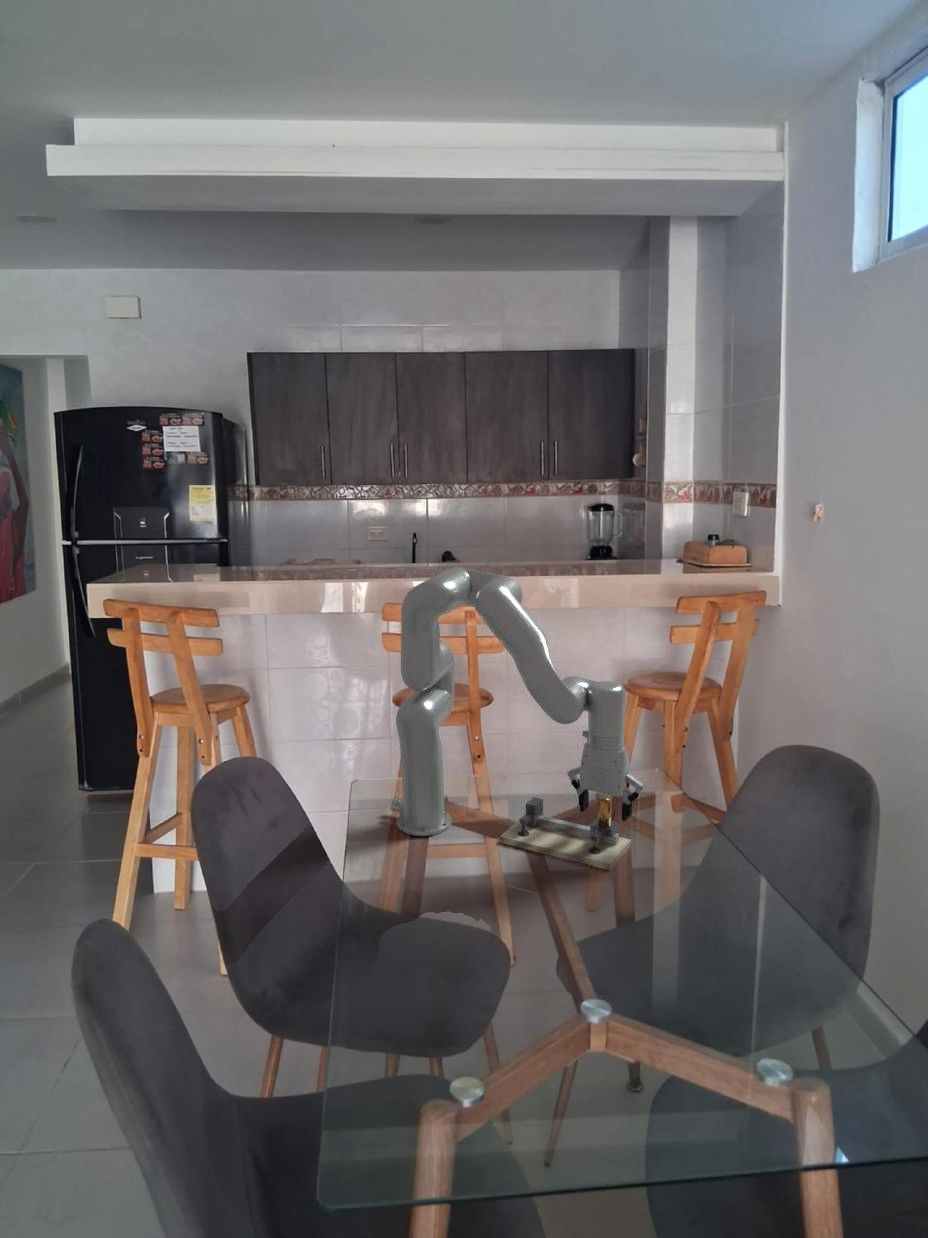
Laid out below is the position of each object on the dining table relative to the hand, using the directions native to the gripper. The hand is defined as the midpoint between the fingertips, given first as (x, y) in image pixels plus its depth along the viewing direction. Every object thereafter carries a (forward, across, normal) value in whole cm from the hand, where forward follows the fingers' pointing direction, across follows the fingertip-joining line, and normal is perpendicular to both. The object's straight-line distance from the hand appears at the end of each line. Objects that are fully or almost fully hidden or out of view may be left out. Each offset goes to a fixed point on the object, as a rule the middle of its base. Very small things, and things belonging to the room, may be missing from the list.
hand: (604, 814), depth 205 cm
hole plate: (+8, -8, -3) cm, 12 cm away
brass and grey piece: (+6, 0, -2) cm, 6 cm away
